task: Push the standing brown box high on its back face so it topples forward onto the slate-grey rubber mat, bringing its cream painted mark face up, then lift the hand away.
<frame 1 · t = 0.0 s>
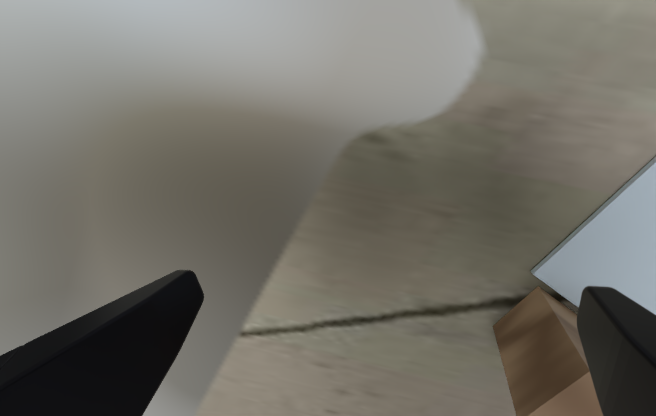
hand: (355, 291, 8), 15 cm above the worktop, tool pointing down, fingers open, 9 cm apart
brown box: (594, 366, 21), on the worktop
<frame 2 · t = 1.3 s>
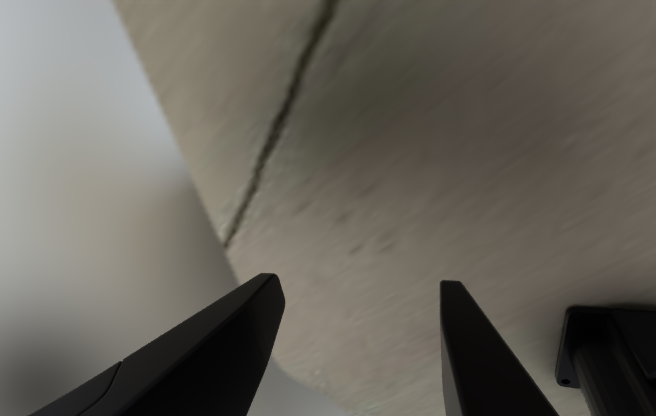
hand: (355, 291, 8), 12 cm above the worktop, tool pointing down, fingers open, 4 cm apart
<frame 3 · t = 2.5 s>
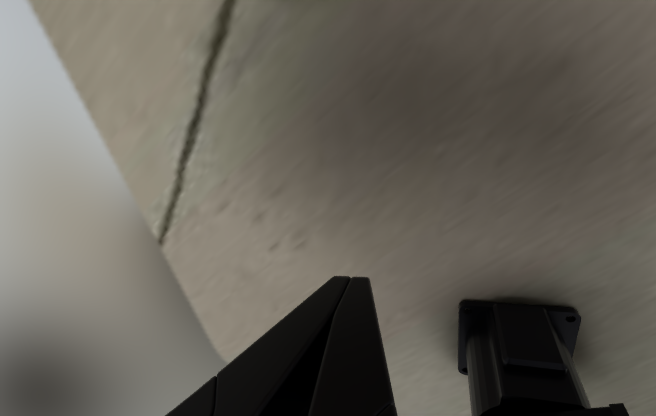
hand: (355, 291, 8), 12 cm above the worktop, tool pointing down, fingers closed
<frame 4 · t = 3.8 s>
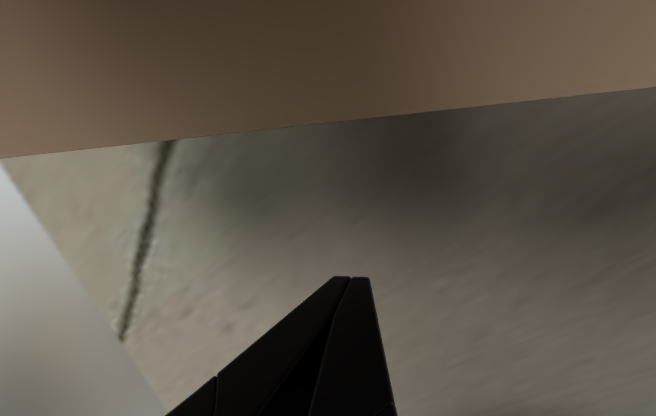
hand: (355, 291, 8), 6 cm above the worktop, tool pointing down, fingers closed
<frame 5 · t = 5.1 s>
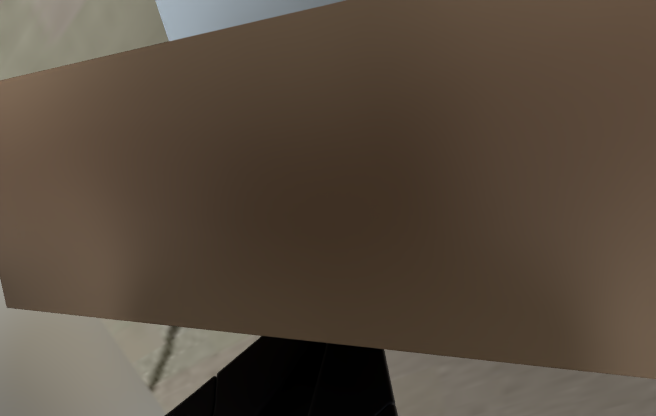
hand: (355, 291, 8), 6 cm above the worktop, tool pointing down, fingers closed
brown box: (383, 165, 12), point 1 cm above the worktop, tilted 18°
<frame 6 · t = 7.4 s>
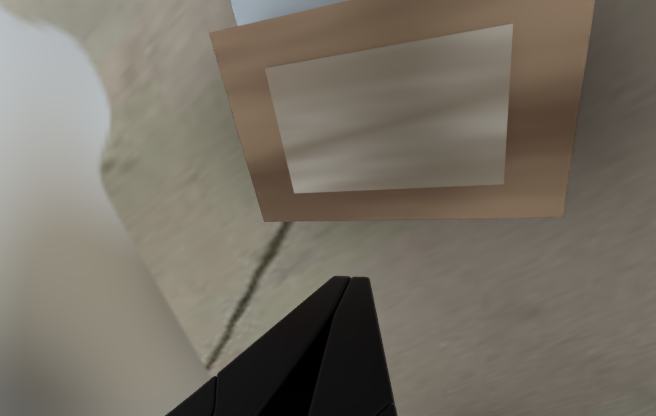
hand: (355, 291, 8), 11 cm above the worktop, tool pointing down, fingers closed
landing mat: (391, 46, 15), on the worktop
brown box: (397, 198, 16), point 2 cm above the worktop, tilted 90°, touching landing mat
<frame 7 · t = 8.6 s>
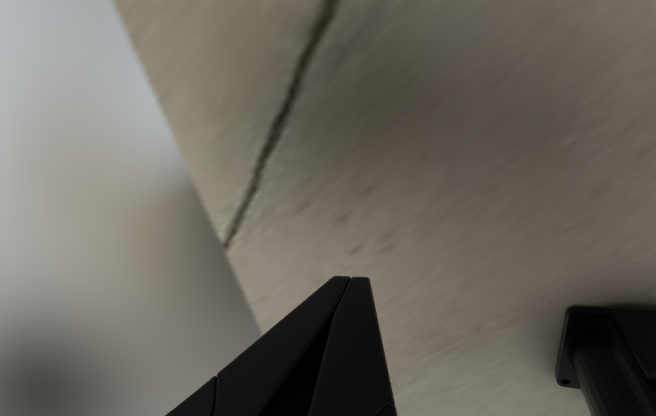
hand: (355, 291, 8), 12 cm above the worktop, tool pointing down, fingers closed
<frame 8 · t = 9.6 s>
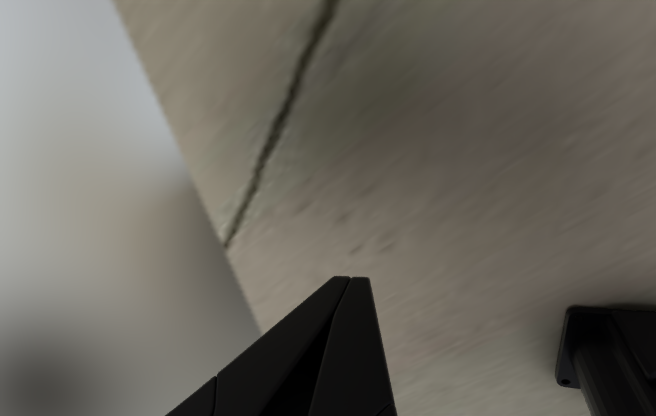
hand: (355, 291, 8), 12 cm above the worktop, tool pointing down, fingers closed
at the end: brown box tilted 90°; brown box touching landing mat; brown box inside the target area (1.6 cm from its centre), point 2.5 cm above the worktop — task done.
